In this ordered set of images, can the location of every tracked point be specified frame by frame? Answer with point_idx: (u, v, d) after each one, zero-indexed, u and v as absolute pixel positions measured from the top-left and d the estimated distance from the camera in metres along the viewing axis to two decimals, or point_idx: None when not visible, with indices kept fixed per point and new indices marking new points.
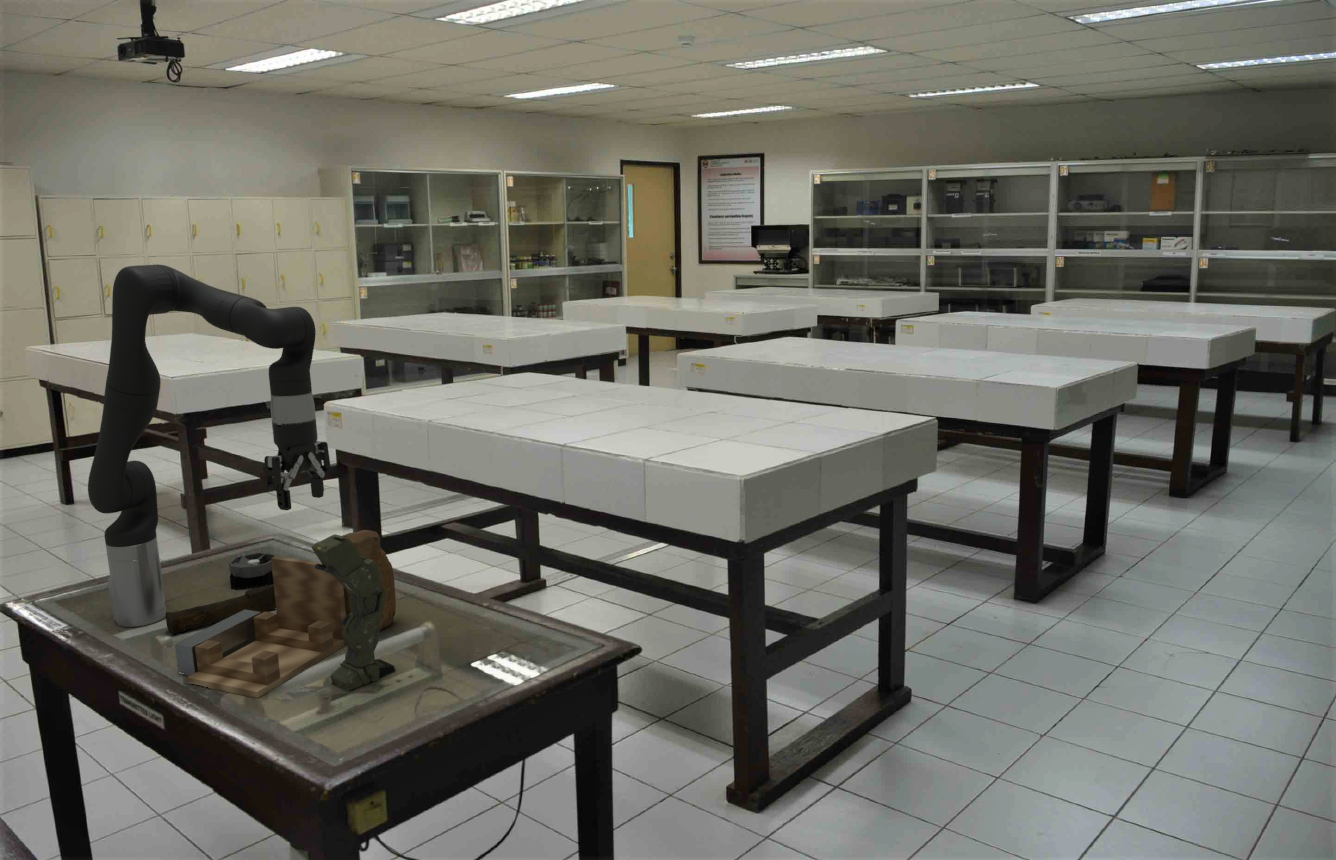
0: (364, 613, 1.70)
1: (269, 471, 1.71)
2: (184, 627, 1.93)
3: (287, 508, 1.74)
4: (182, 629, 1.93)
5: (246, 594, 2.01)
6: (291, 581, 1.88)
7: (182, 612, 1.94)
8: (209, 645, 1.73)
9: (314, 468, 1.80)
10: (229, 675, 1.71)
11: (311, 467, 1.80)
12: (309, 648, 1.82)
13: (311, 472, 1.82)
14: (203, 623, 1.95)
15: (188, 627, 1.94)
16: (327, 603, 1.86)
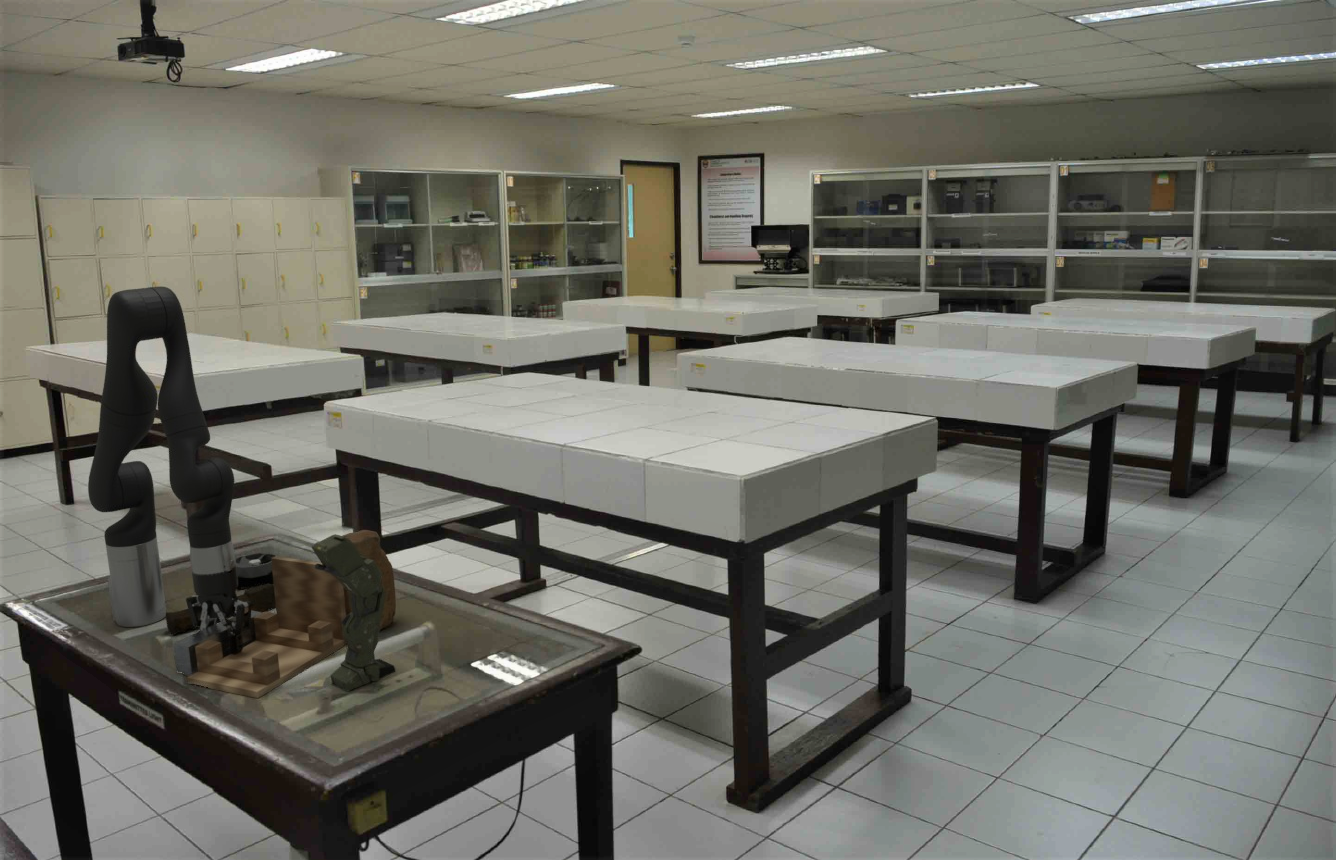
0: (364, 613, 1.70)
1: (245, 617, 1.79)
2: (185, 627, 1.93)
3: None
4: (183, 629, 1.93)
5: (246, 593, 2.02)
6: (291, 581, 1.88)
7: (182, 612, 1.94)
8: (209, 645, 1.73)
9: None
10: (229, 675, 1.71)
11: None
12: (309, 648, 1.82)
13: None
14: None
15: (189, 627, 1.94)
16: (327, 603, 1.86)
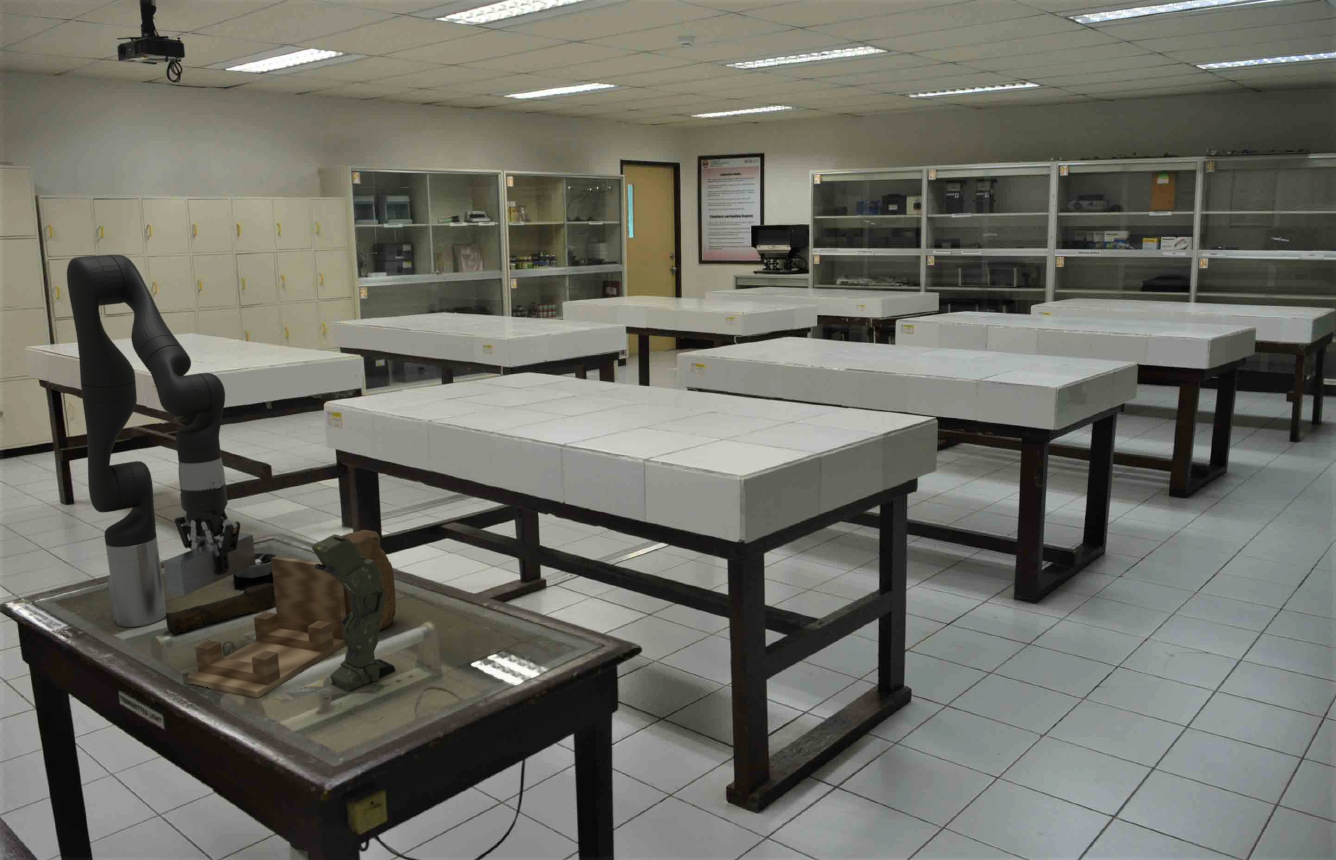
0: (364, 613, 1.70)
1: (232, 537, 1.76)
2: (186, 627, 1.93)
3: (226, 570, 1.79)
4: (184, 629, 1.93)
5: (245, 592, 2.02)
6: (291, 581, 1.88)
7: (183, 612, 1.94)
8: (209, 645, 1.73)
9: None
10: (229, 675, 1.71)
11: (203, 535, 1.79)
12: (309, 648, 1.82)
13: None
14: (204, 622, 1.96)
15: (189, 627, 1.94)
16: (327, 603, 1.86)
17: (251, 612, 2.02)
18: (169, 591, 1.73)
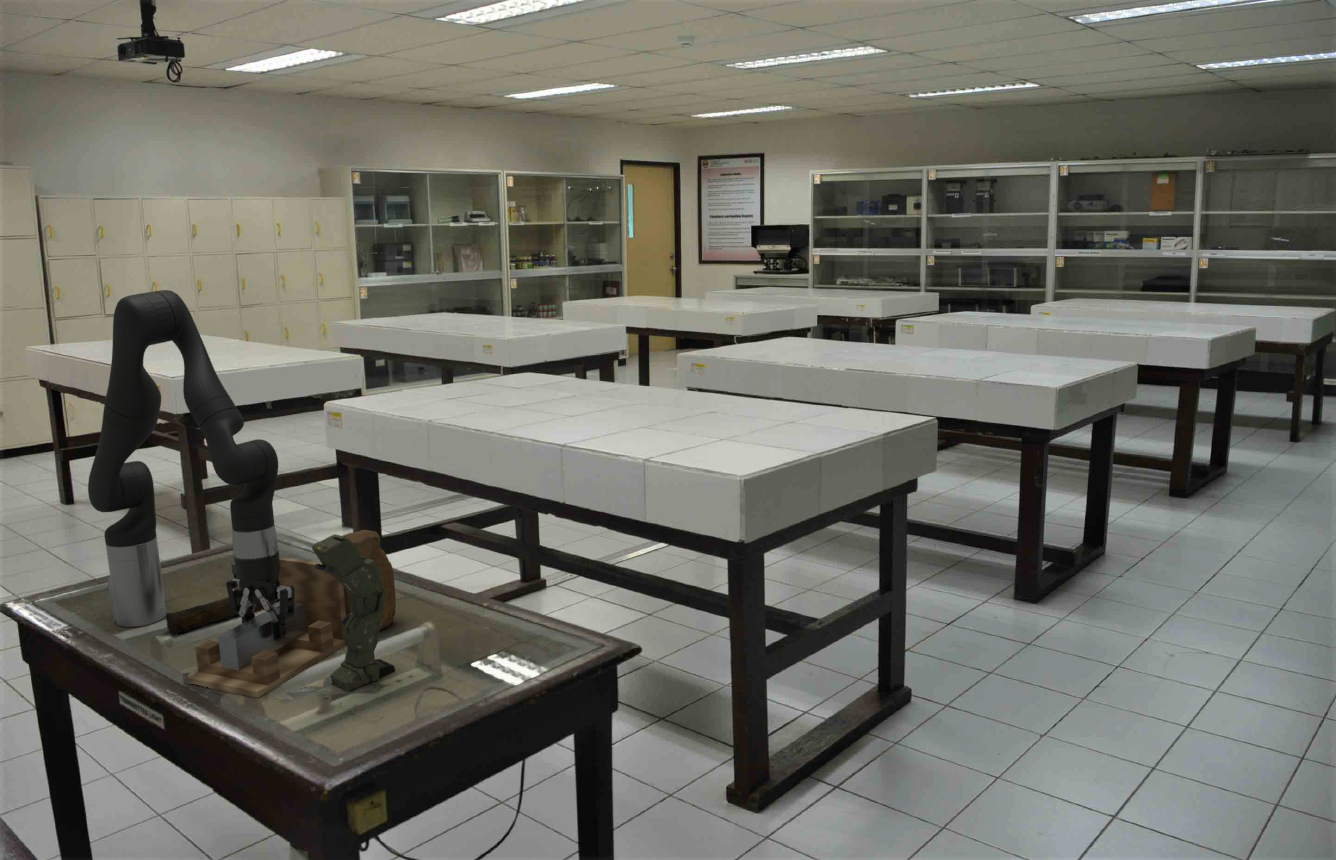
0: (364, 613, 1.70)
1: (289, 602, 1.74)
2: (187, 627, 1.93)
3: (284, 635, 1.77)
4: (185, 629, 1.93)
5: None
6: (291, 581, 1.88)
7: (183, 612, 1.94)
8: (209, 645, 1.73)
9: None
10: (229, 675, 1.71)
11: None
12: (309, 648, 1.82)
13: None
14: (205, 622, 1.96)
15: (191, 626, 1.94)
16: (327, 603, 1.86)
17: None
18: (223, 665, 1.71)
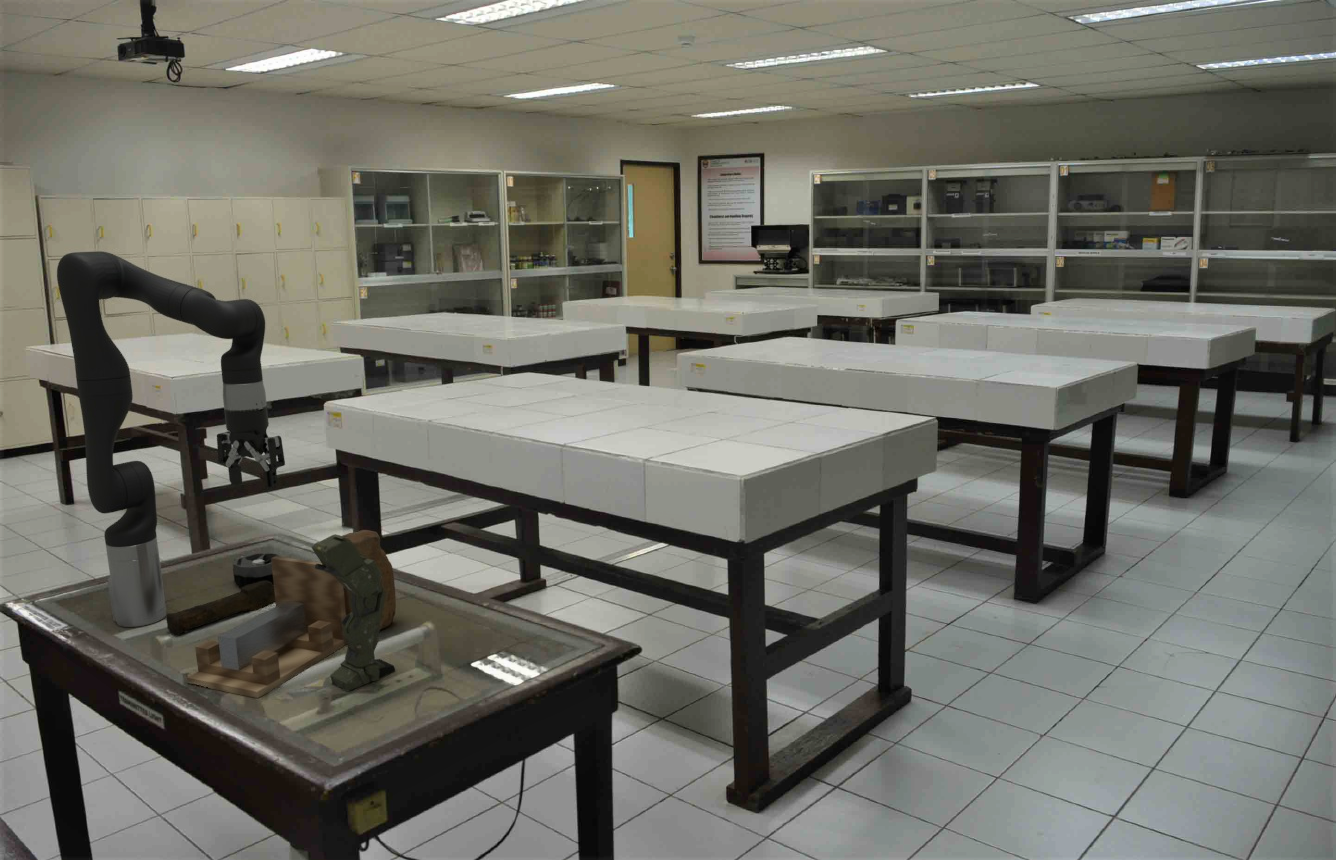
0: (364, 613, 1.70)
1: (277, 450, 1.83)
2: (188, 626, 1.93)
3: (275, 485, 1.87)
4: (187, 629, 1.93)
5: (243, 590, 2.03)
6: (291, 581, 1.88)
7: (184, 612, 1.94)
8: (209, 645, 1.73)
9: None
10: (229, 675, 1.71)
11: None
12: (309, 648, 1.82)
13: None
14: (205, 621, 1.96)
15: (192, 626, 1.94)
16: (327, 603, 1.86)
17: (249, 610, 2.04)
18: (223, 665, 1.71)
